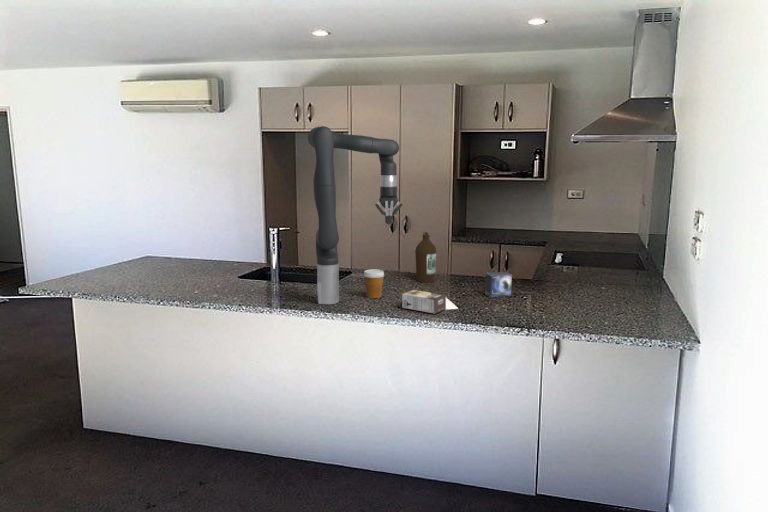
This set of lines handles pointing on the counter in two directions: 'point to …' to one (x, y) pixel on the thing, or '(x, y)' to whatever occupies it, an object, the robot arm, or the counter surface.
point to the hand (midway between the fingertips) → (388, 224)
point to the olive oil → (425, 260)
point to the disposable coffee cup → (373, 282)
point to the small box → (498, 284)
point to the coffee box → (424, 301)
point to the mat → (450, 305)
